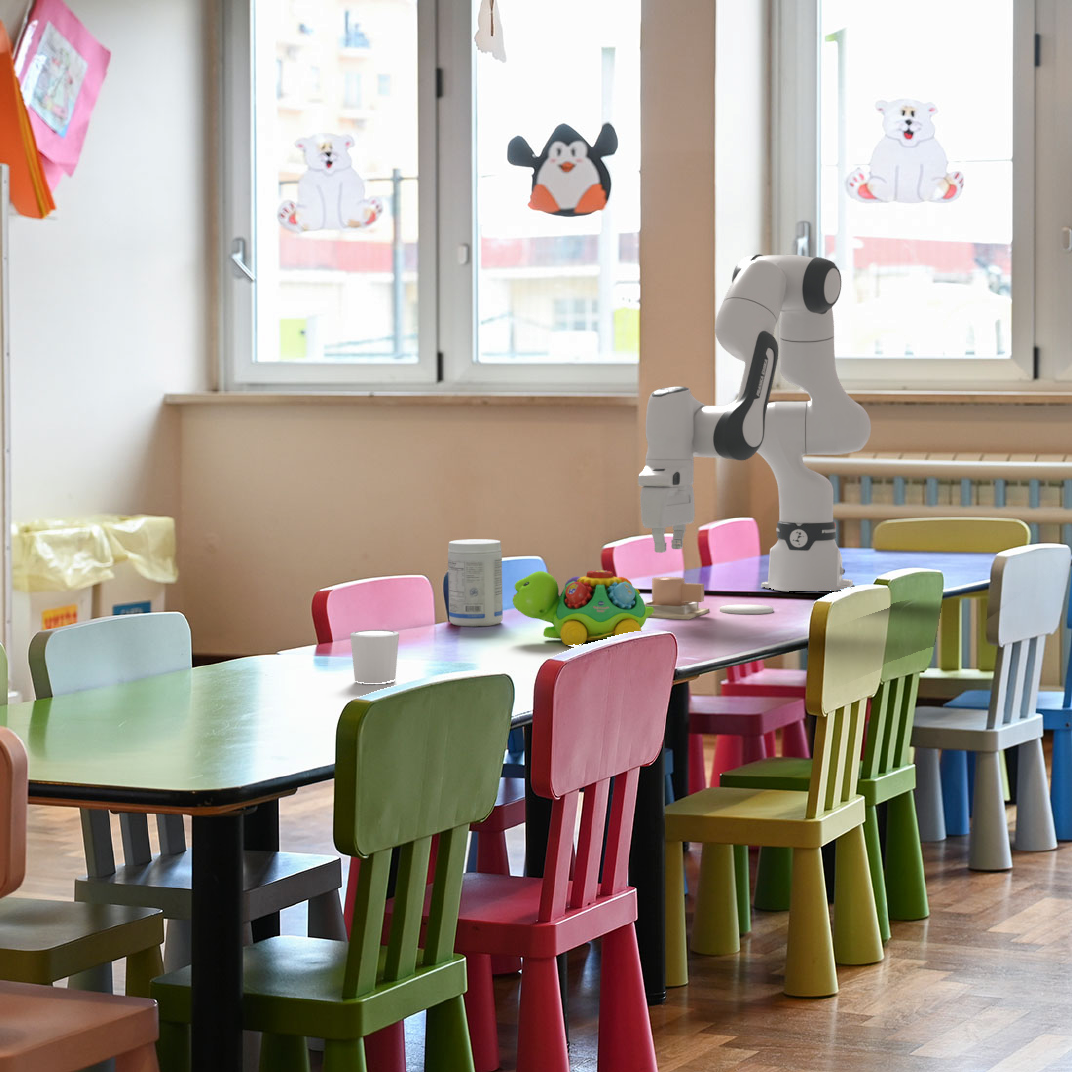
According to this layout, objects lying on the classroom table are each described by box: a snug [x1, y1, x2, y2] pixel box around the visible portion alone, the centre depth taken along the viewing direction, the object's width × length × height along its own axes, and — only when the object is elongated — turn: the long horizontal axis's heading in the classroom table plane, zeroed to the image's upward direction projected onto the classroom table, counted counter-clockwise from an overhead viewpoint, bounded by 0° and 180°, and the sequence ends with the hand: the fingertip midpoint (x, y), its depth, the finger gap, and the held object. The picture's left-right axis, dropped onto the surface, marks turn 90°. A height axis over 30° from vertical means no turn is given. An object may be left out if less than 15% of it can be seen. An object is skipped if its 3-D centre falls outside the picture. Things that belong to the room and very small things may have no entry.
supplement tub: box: [447, 538, 504, 627], centre depth 304 cm, size 10×10×15 cm
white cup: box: [349, 629, 400, 683], centre depth 242 cm, size 7×7×7 cm
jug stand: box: [644, 599, 710, 620], centre depth 318 cm, size 12×12×2 cm
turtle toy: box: [512, 569, 654, 646], centre depth 283 cm, size 17×23×12 cm
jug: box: [651, 576, 705, 606], centre depth 317 cm, size 6×10×6 cm, turn 66°
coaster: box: [719, 604, 775, 615], centre depth 322 cm, size 10×10×1 cm
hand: (668, 550), depth 316 cm, fingers open, 8 cm apart
